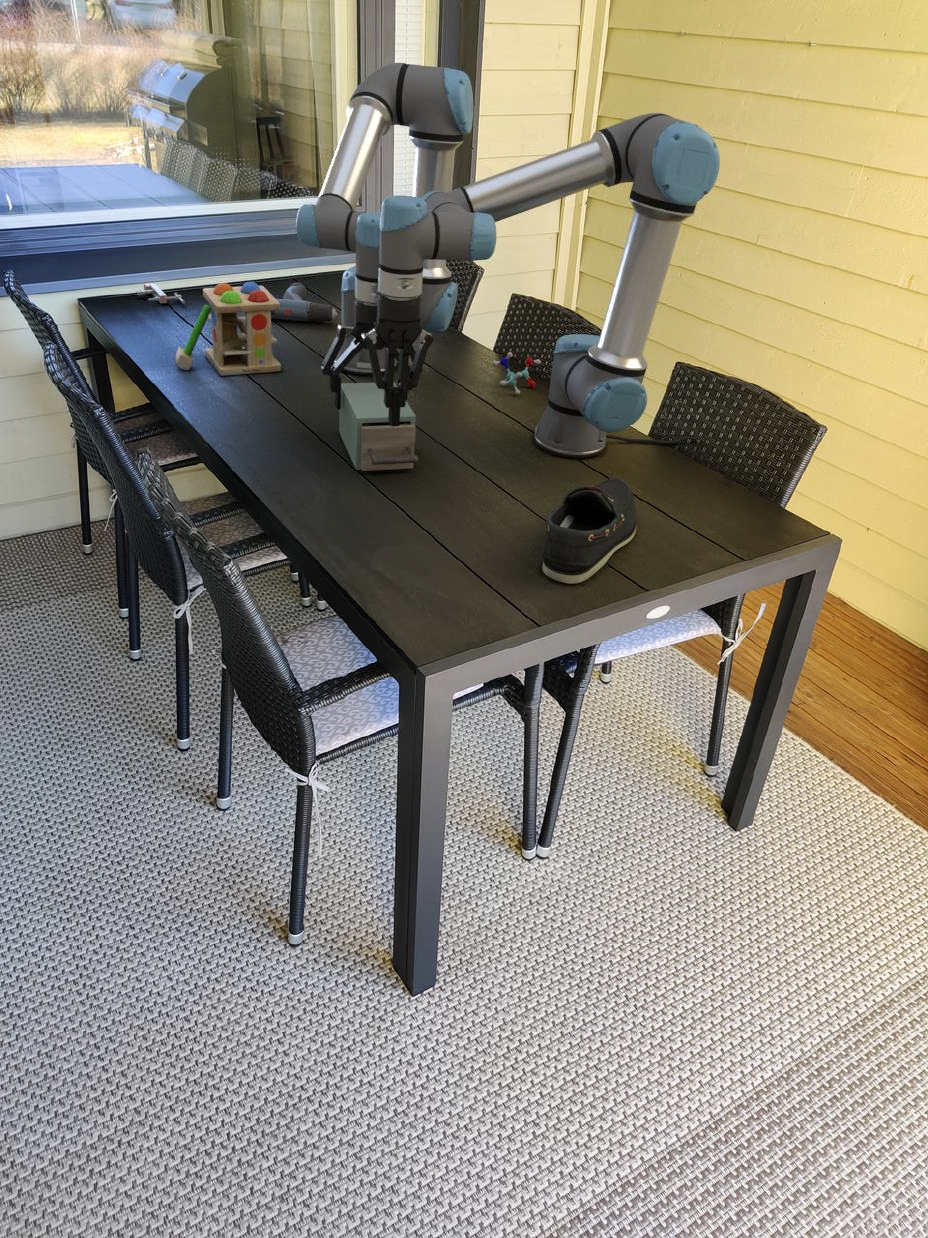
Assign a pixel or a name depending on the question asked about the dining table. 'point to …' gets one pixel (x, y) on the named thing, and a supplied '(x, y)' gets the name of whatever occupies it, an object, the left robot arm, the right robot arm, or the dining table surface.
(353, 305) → the left robot arm
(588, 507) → the boat shoe
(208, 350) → the pounding bench toy
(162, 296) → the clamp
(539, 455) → the dining table surface
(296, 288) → the power drill
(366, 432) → the drawer
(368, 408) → the cabinet
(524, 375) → the molecular model
